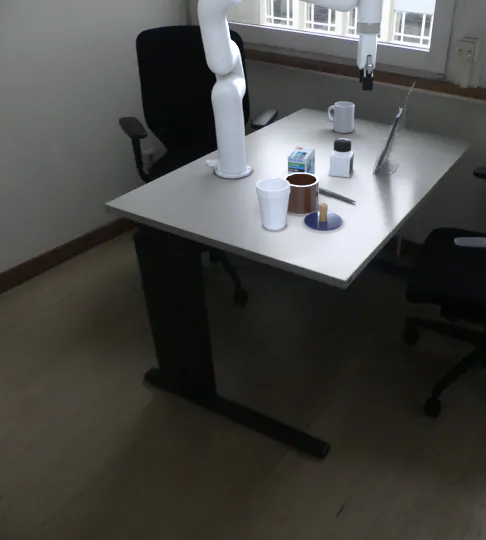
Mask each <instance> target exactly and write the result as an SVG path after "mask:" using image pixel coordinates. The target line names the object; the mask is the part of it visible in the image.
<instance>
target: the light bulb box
mask: <svg viewBox="0 0 486 540" xmlns="http://www.w3.org/2000/svg"><path fill="white" fill-rule="evenodd" d="M315 171H316V148H311V147H303V146H296V147H295V148H294V149H292V151H291V153H290V154H289V155H288V156H287V175H289V174H293V173H309V174H313V175H315V176H316V173H315Z"/></svg>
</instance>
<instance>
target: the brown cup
mask: <svg viewBox="0 0 486 540" xmlns="http://www.w3.org/2000/svg"><path fill="white" fill-rule="evenodd" d="M283 179H285V180H287V181H289V183H290V194H289V202H288V210H287V213H288V212H289V213H290V214H293V215H309V214H311V213H314V212H317V210H319V182H320V180H319V177H318V176H316V174H315V175H313V174H309V173H293V174H289V175H288V174H287V175H285V176H284V178H283Z"/></svg>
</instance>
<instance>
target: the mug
mask: <svg viewBox="0 0 486 540" xmlns="http://www.w3.org/2000/svg"><path fill="white" fill-rule="evenodd" d="M332 110H333V117H331V111H332ZM326 112H327V113H326V114H327V119H328V122H331V123H333V131H334V132H335V133H340V134H348V133H349V134H350V133H352V132H353V131H354V128H355V127H354V126H355V125H354V124H355V104H354V103H353V102H352V101H351V102H350V101H337V102H335V103H334V105H330V106H328V108H327V111H326Z"/></svg>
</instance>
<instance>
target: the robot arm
mask: <svg viewBox="0 0 486 540" xmlns="http://www.w3.org/2000/svg"><path fill="white" fill-rule="evenodd" d="M244 1H245V0H198V2H197V18H198V23H199V24H198V25H199V28H200V34H201V40H202V44H203V51H204V54H205V60H206V64H207V66H208V68H209V70H210V71H211V72H212V73H213V74H214V75H215V79H216V81H215V83H214V85H213V87H212V90H211V105H212V110H213V116H214V125H215V137H216V146H217V147H216V148H217V157H218V158H216V159H206V160H205V162H206V163H205V164H206V166H208V168H214V173H215V175H217V176H218V177H220V178H223V179H242V178H244V177H247V176H249V175H250V174H251V173H252V170H253V169H252V166H251V165H250V164H248V163H247V148H246V147H247V146H246V133H245V131H246V130H245V117H244V110H243V98H244V96H245V94H246V89H247V86H246V78H245V72H244V67H243V62H242V55H241V52H240V51H241V50H240V49H239V47H238V45H237V43H236V42H235V41H234V40H232V39H231V34H230V27H229V23H228V19H227V14H228V12H229V11H230V10H233V9H235V7H237V6H238V5H239V4H240V3H242V2H244ZM299 1H300V2H304V3H308V4H311V5H313V6H318V7H322V8H325V9H328V10H331V11H336V12H340V13H348V12H351V11H352V10H354V9H355V8H357V11H356V13H357V14H356V31H355V33H356V35H358V43H357V45H358V46H357V57H356V65H357V67H358V69H359V73H358V74H359V77H358V82H359V83H360V84H361V83H362V85H361V86H362V87H361V89H362V91H365V92H367V91H369V92H370V91H372V92H373V88H374V69H375V68H376V62H377V46H378V36H380V35H381V34H382V24H383V11H384V10H383V9H384V0H299Z"/></svg>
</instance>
